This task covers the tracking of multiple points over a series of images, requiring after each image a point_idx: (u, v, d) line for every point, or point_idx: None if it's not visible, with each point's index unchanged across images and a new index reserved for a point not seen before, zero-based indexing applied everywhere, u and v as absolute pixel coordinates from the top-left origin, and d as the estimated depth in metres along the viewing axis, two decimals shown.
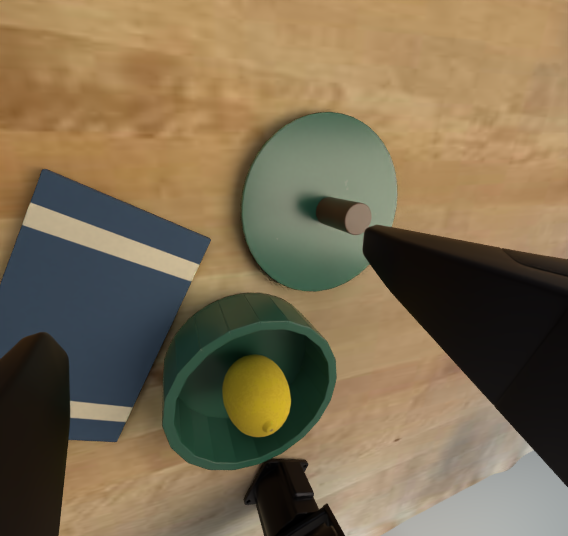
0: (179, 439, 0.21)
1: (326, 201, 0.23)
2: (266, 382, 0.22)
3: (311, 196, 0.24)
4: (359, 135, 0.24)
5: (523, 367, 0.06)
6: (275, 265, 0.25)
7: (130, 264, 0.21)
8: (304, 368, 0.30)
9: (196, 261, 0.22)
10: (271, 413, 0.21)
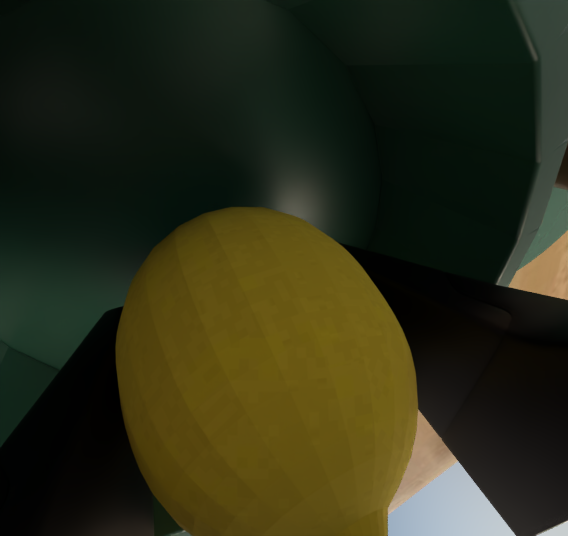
0: None
1: None
2: (401, 332, 0.05)
3: None
4: None
5: (463, 402, 0.05)
6: None
7: None
8: None
9: None
10: (401, 476, 0.04)
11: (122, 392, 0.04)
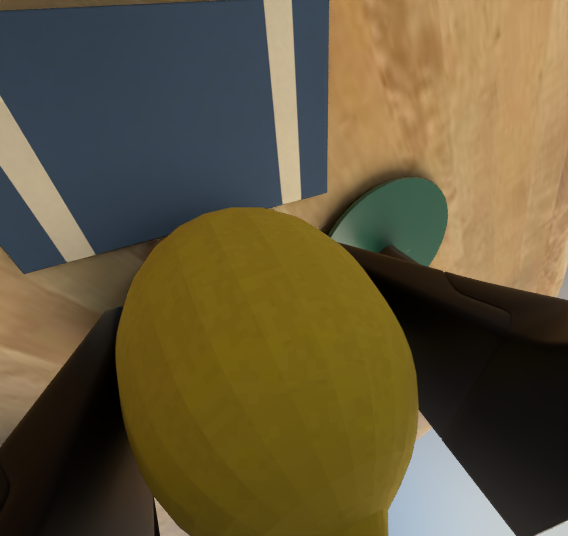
0: None
1: (398, 250, 0.27)
2: None
3: (391, 237, 0.27)
4: (438, 232, 0.29)
5: (463, 402, 0.05)
6: None
7: (272, 139, 0.18)
8: None
9: (303, 195, 0.21)
10: (401, 478, 0.04)
11: (122, 393, 0.04)
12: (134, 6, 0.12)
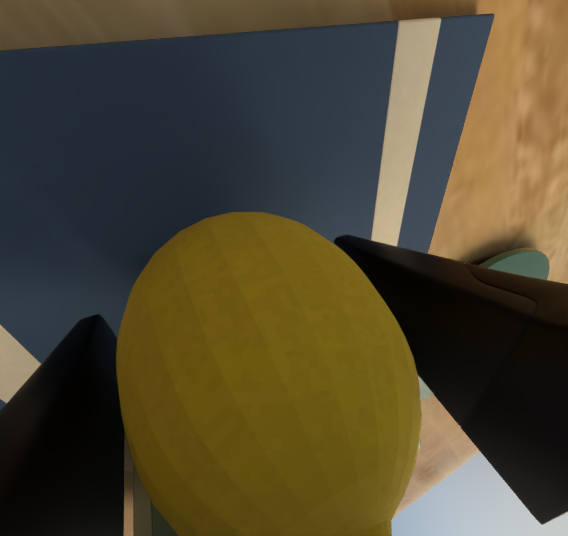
0: None
1: None
2: (404, 339, 0.05)
3: None
4: None
5: (486, 390, 0.06)
6: None
7: (367, 229, 0.12)
8: None
9: None
10: (404, 487, 0.04)
11: (123, 401, 0.04)
12: (174, 41, 0.06)
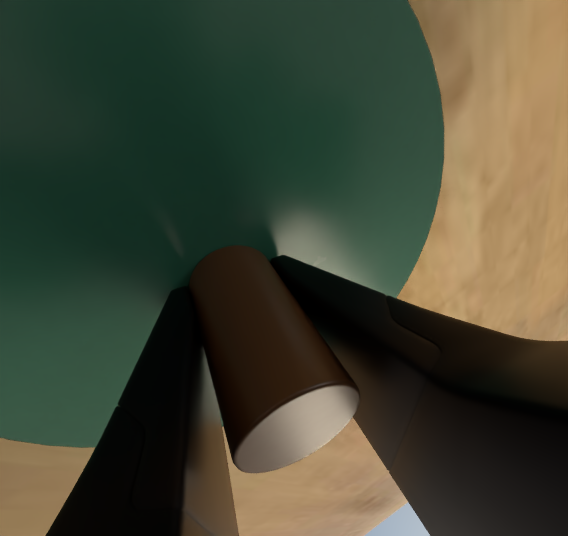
0: None
1: (253, 262, 0.07)
2: None
3: (227, 214, 0.07)
4: (416, 204, 0.10)
5: (403, 440, 0.05)
6: None
7: None
8: None
9: None
10: None
11: None
12: None
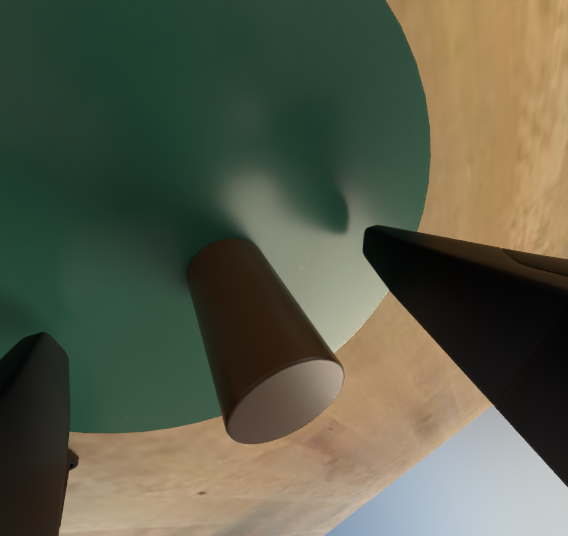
0: None
1: (247, 253, 0.07)
2: None
3: (223, 208, 0.07)
4: (405, 200, 0.10)
5: (524, 367, 0.06)
6: None
7: None
8: None
9: None
10: None
11: None
12: None
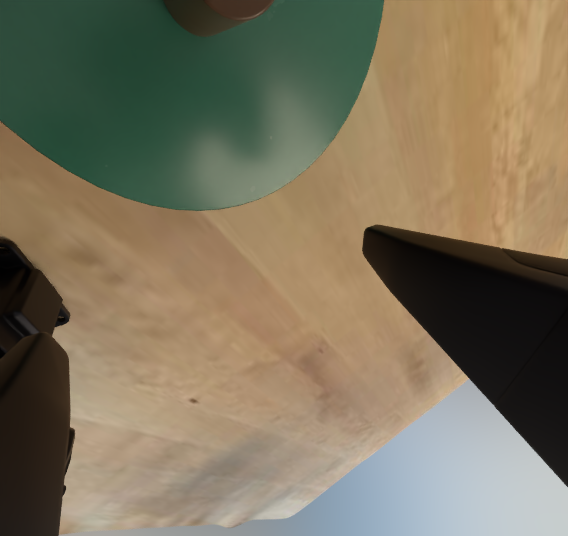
0: None
1: None
2: None
3: None
4: None
5: (524, 367, 0.06)
6: None
7: None
8: None
9: None
10: None
11: None
12: None
